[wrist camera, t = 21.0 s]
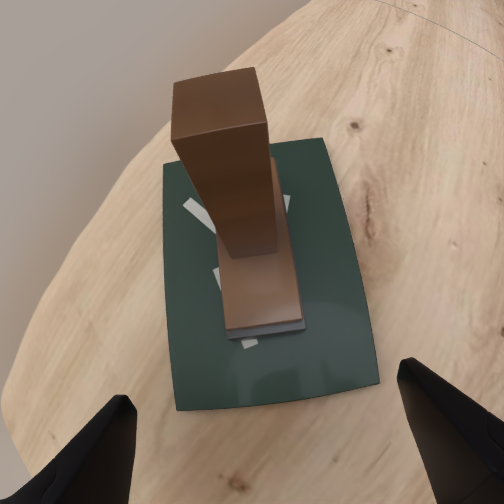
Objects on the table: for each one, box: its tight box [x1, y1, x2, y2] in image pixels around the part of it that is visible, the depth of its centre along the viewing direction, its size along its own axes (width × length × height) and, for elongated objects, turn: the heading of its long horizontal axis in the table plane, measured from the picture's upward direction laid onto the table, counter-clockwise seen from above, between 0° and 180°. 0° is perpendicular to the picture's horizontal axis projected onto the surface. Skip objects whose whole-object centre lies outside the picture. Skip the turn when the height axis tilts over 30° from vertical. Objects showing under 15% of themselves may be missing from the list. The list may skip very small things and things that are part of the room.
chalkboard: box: [163, 138, 380, 411], centre depth 22 cm, size 20×14×1 cm
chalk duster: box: [171, 67, 307, 342], centre depth 15 cm, size 12×5×14 cm, turn 7°
